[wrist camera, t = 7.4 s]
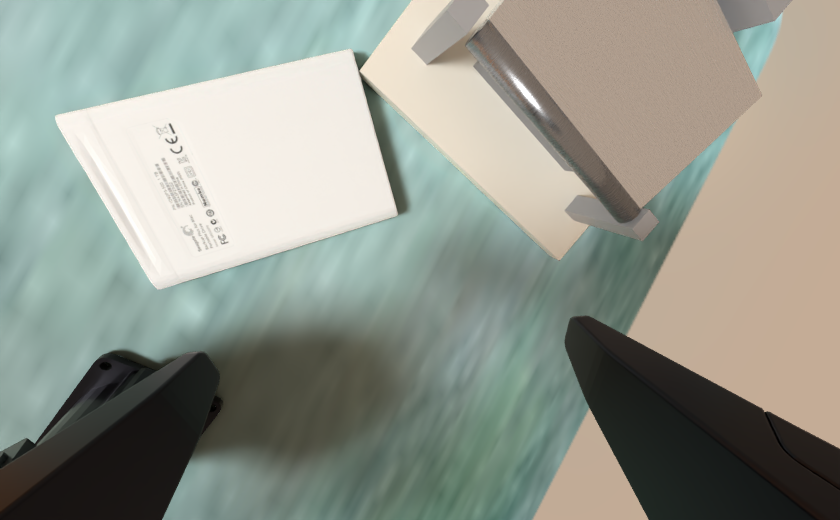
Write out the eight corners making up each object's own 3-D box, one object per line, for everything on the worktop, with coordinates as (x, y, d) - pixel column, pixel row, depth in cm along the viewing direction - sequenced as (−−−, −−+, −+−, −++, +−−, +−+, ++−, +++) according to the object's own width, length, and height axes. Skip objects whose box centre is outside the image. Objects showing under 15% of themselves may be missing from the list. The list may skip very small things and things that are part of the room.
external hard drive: (393, 211, 20) (168, 281, 18) (349, 54, 17) (73, 116, 15) (399, 216, 19) (155, 293, 17) (352, 45, 16) (47, 113, 14)
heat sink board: (550, 256, 23) (655, 307, 16) (357, 74, 17) (384, 22, 10) (693, 85, 22) (877, 56, 15) (544, -176, 16) (734, -450, 9)
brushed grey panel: (626, 226, 17) (766, 95, 15) (470, 43, 12) (642, -171, 11) (610, 218, 18) (739, 95, 16) (461, 48, 13) (616, -147, 12)
